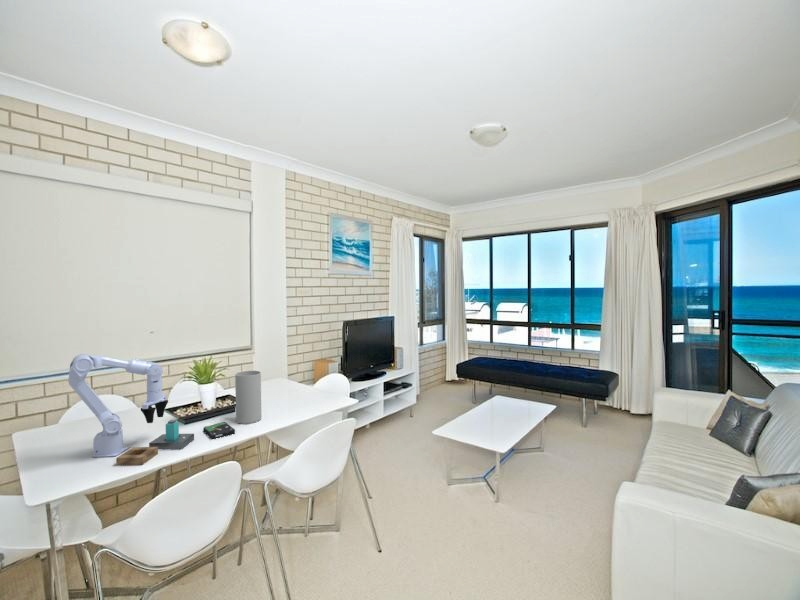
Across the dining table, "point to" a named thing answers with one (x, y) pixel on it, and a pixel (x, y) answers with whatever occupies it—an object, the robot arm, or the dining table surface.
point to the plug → (172, 430)
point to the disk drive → (219, 430)
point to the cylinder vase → (248, 396)
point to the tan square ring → (137, 456)
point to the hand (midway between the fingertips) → (155, 419)
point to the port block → (172, 442)
